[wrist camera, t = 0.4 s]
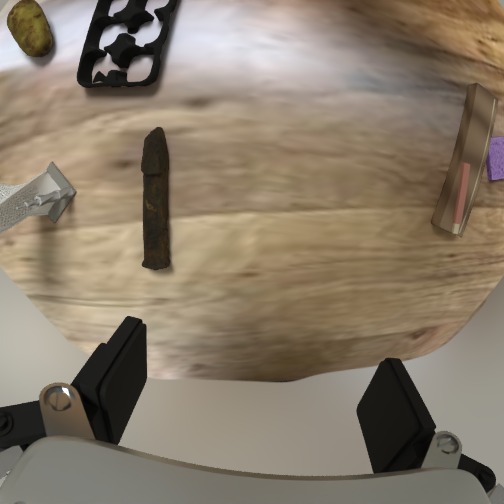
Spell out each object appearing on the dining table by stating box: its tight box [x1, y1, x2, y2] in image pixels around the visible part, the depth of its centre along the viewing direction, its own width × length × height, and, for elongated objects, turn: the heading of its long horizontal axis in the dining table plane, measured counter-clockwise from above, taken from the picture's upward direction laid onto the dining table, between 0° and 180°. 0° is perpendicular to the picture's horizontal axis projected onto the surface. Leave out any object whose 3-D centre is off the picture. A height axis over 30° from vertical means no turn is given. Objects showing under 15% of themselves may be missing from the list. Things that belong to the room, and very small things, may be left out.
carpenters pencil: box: [451, 162, 470, 234], centre depth 36 cm, size 10×1×1 cm, turn 175°
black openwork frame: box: [77, 0, 177, 88], centre depth 30 cm, size 18×30×4 cm, turn 3°
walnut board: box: [431, 83, 498, 237], centre depth 35 cm, size 24×5×3 cm, turn 163°
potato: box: [7, 0, 53, 57], centre depth 28 cm, size 8×13×8 cm, turn 9°
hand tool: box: [141, 127, 170, 270], centre depth 38 cm, size 19×4×5 cm, turn 174°
